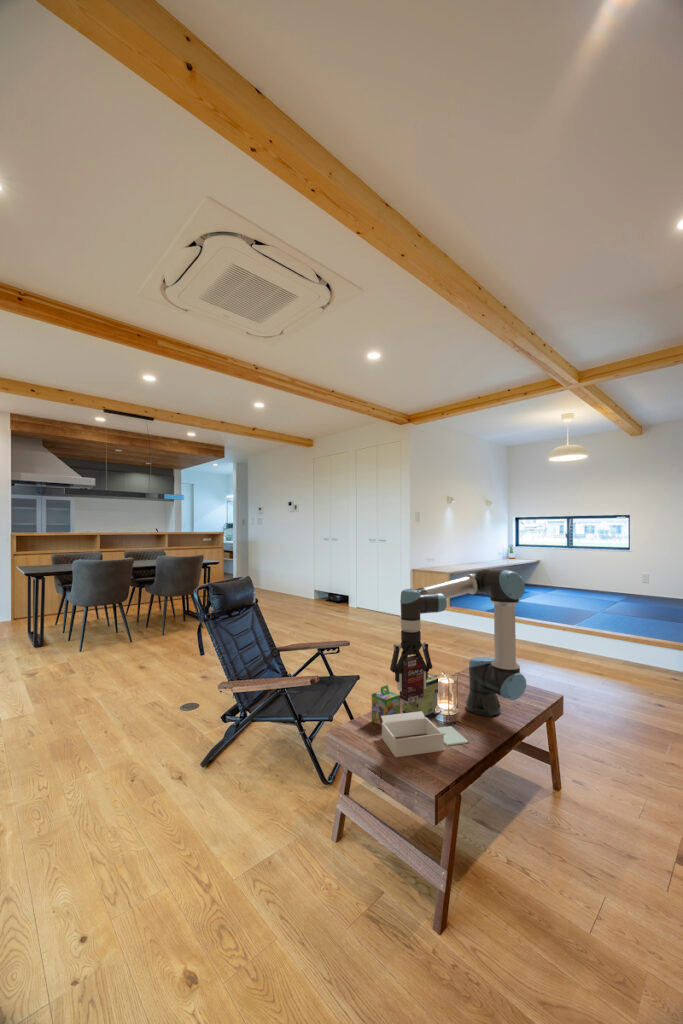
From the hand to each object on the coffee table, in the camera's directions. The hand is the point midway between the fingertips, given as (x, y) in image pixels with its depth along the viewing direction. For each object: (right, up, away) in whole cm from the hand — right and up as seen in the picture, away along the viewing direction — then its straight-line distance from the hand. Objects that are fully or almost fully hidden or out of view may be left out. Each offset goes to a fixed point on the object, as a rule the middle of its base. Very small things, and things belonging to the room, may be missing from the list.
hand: (411, 688), depth 155 cm
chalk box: (-8, -22, +17) cm, 29 cm away
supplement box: (0, -4, 0) cm, 4 cm away
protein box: (+9, -23, +26) cm, 36 cm away
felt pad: (+16, -21, +5) cm, 27 cm away
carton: (0, -21, -1) cm, 21 cm away
